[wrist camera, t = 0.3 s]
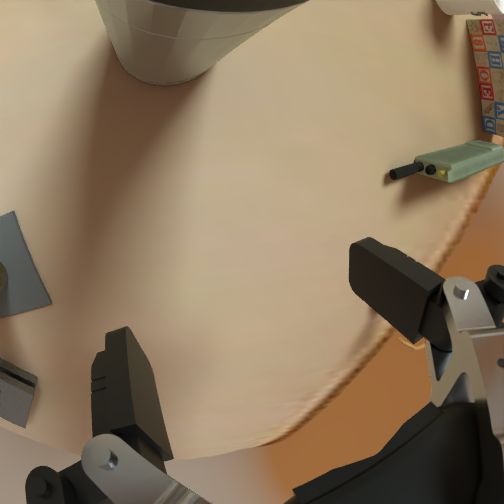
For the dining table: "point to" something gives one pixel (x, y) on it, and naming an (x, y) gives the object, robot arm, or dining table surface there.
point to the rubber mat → (18, 271)
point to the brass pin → (3, 276)
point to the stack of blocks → (490, 70)
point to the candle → (471, 7)
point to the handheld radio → (454, 162)
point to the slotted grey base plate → (15, 393)
